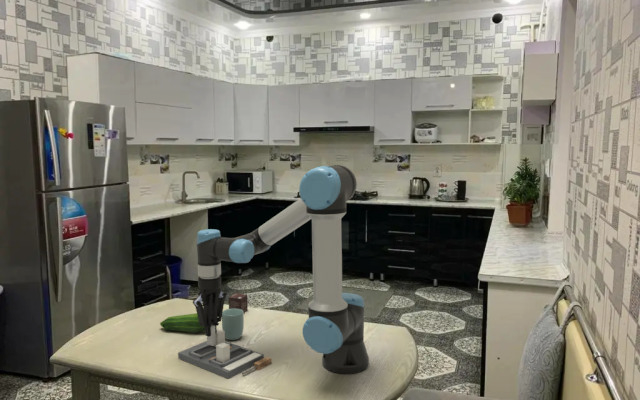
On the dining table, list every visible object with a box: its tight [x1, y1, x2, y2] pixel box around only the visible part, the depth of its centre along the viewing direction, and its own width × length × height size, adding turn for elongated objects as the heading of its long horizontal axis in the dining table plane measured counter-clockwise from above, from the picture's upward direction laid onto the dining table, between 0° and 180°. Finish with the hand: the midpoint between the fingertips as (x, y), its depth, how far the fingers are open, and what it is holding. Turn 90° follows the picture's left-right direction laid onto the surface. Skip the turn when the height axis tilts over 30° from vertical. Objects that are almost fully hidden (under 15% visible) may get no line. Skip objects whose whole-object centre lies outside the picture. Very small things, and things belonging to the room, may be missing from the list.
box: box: [228, 292, 249, 314], centre depth 207 cm, size 6×6×7 cm
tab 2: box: [216, 343, 230, 363], centre depth 155 cm, size 3×3×5 cm
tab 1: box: [213, 328, 226, 347], centre depth 166 cm, size 3×3×5 cm
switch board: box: [177, 340, 265, 380], centre depth 161 cm, size 24×16×3 cm, turn 54°
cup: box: [221, 308, 245, 341], centre depth 179 cm, size 8×8×10 cm
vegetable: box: [159, 312, 205, 334], centre depth 186 cm, size 7×7×20 cm
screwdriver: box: [241, 356, 272, 376], centre depth 154 cm, size 12×2×2 cm, turn 143°
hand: (211, 344), depth 164 cm, fingers closed
